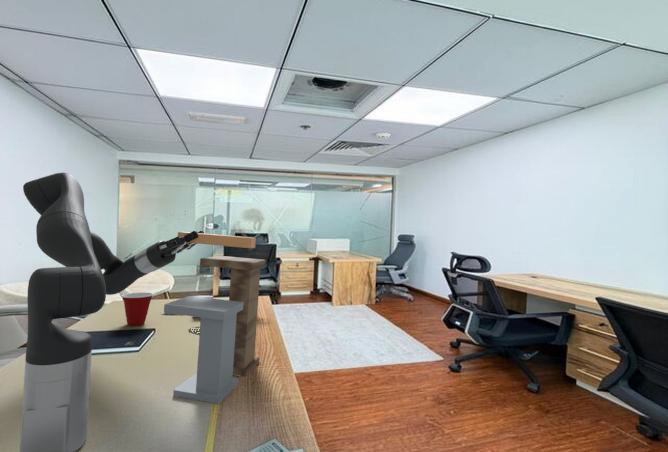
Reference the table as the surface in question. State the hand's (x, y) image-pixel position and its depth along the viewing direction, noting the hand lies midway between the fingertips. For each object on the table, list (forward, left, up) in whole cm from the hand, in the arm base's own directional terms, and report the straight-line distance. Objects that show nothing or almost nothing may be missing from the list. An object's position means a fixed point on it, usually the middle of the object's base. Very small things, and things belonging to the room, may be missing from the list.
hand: (200, 233), depth 97 cm
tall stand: (-6, -10, -39) cm, 41 cm away
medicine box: (+46, -1, -39) cm, 60 cm away
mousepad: (+26, -4, -40) cm, 48 cm away
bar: (-3, -5, -3) cm, 6 cm away
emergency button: (+54, +8, -40) cm, 67 cm away
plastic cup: (+38, +23, -39) cm, 59 cm away
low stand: (-18, -3, -39) cm, 43 cm away
